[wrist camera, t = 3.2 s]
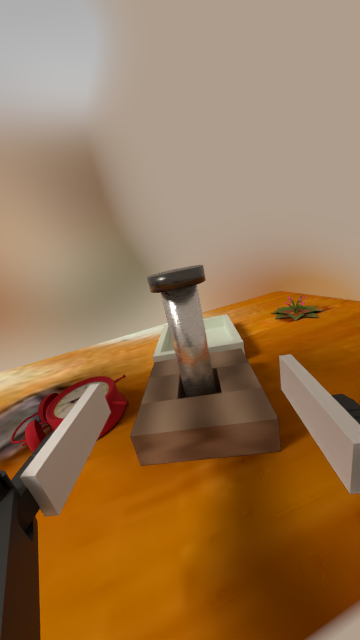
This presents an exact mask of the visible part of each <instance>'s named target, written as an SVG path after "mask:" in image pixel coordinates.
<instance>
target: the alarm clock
mask: <svg viewBox="0 0 360 640" xmlns="http://www.w3.org/2000/svg"><path fill="white" fill-rule="evenodd" d="M123 377H124V378H125V377H126V376H125V375H123ZM123 377H121V378H119V379H117V380H115V381H113V380H112V379H111V378H109V377H105V376H99V377H93V378H89V379H86V380H83V381H81V382H78V383H76V384H74V385H73V386H71V387H69V388H67V389H66V390H64V391H63V392H62V393H60V394H57V393H53V394H50V395H48V396H46V397H45V398H44V399H43V400H42V401H41V403H40V405H39V409H38V413H36V414H34V415H32V416H30V417H28V418H27V419H25V420H24V421H23V422H22V423H21V424H20V425H19V426H18V427H17V429H16V430H15V432H14V433H13V435H12V437H11V442H12V443H14V444H15V443H21V442H25V441H27V442H25V443H23V444H22V446H25V445H27V444H28V447H29V448H30V450H31V451H32V452H34V451H35V449H37V447H38V446H39V444H40V443H41V442H42V441H43V439H44V438H45V437H46V436H45V434H44V432H43V430H44V429H45V428H47V427H49V426H51V432H52V431H55V430H56V429H57V428H58V426H59V425H60V424H61V422H62V421H63V420H64V418H65V417H66V416H67V415H68V413H69V412H70V411H71V409H72V408H73V407H74V405H75V404H76V403H77V401H78V400H79V399H80V398H81V396H82V395H83V394H84V392H85V391H86V390H87V388H88V387H89V386H90V385H92V384H98V383H100V385H101V388H102V390H103V393H104V396H105V398H106V401H107V403H108V406H109V408H110V411H111V413H110V415H109V417H108V419H107V421H106V423H105V425H104V427H103V429H102V431H101V433H100V435H99V437H98V438H100V437H101V436H103V435H104V434H106V433H107V432H108V431H109V430H110V429H111V428H113V427H114V426H115V425H116V423H117V422H118V421H119V420H120V418H121V417H122V415H123V413H124V411H125V408H126V405H128V401H126V400H125V397H124V395H123V394H122V393H120V392H119V391H118V390H117V388H116V385H115V383H116V382H117V381H119V380H120V379H122V378H123ZM37 414H38V415H39V418H40V419H41V421H42V422H41V423H40V424H39V422H38V421H37V420H34V421H32V422H30V423H29V424H28V425H27V427H26V430H25V437H26V439H24V440H20V441H14V436H15V434H16V432H17V431H18V429H19V428H20V427H21V425H22V424H24V423H25V422H26V421H27V420H28V419H30V418H32V417H34V416H35V415H37ZM44 423H45V424H48V425H46V426H45V427H43V428H42V427H41V426H42V424H44ZM51 432H50V433H51Z"/></svg>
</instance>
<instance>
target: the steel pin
mask: <svg viewBox="0 0 360 640" xmlns="http://www.w3.org/2000/svg"><path fill="white" fill-rule="evenodd" d="M147 279H148V283H149V287H150V291H151V292H153V293H159V292H161V296H162V301H163V304H164V309H165V313H166V317H167V321H168V325H169V330H170V334H171V338H172V342H173V346H174V350H175V354H176V358H177V363H178V367H179V371H180V375H181V379H182V383H183V387H184V392H185V396H186V398H189V397H196V396H203V395H210V394H217V392H216V387H215V381H214V376H213V370H212V365H211V359H210V354H209V349H208V343H207V338H206V332H205V327H204V321H203V316H202V311H201V306H200V300H199V294H198V289H197V284H199V283H202V282H204V281H205V274H204V268H203V265H195V266H189V267H184V268H179V269H174V270H170V271H165V272H162V273H158V274H154V275H151V276H149V277H147Z"/></svg>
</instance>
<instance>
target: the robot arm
mask: <svg viewBox="0 0 360 640" xmlns="http://www.w3.org/2000/svg"><path fill="white" fill-rule="evenodd" d="M279 363H280V378H281V390H282V391H283V393H284V394H285V396H286V397H287V399H288V400H289V402H290V403H291V405H292V407H293V408H294V410H295V411H296V413H297V414H298V416H299V417H300V419H301V420H302V422H303V423H304V425H305V426H306V428H307V429H308V431H309V432H310V434H311V435H312V437H313V439H314V440H315V442H316V443H317V445H318V446H319V448H320V449H321V451H322V452H323V454H324V455H325V457H326V458H327V460H328V461H329V463H330V464H331V466H332V467H333V469H334V471H335V472H336V474H337V475H338V477H339V478H340V480H341V481H342V483H343V484H344V486H345V487H346V489H347V490H348V492H349V493H350V494H357V493H360V405H359V404H357V403H356V402H355V401H354V400H353V399H351V398H349V397H347V396H345V395H343V394H337V395H330V394H329V393H328V392H327V391H326V390H325V389H324V388H323V387H322V386H321V385H320V383H319V382H318V381H317V380H316V379H315V378H314V377H313V376H312V375H311V374H310V373H309V372H308V371H307V370H306V369H305V368H304V367H303V366H302V365H301V364H300V363H299V362H298V361H297V360H296V359H295V358H294V357H293V356H292V355H291V354H288V355H281V356H279ZM110 413H111V411H110V408H109V406H108V403H107V401H106V398H105V396H104V393H103V390H102V388H101V385H100V383H98V384H92V385H90V386H89V387H88V388H87V390H86V391H85V392H84V394H83V395H82V396H81V398H80V399H79V400H78V401H77V403H76V404H75V405H74V407H73V408H72V409H71V411H70V412H69V413H68V415H67V416H66V417H65V418H64V420H63V421H62V422H61V424H60V425H59V426H58V428H57V429H56V430H55V431H52V432H51V433H50V434H49V435H48V436H47V437H45V438H44V439H43V441H42V442H41V443H40V444H39V446H38V447H37V449H35V451H34V452H33V453H32V456H30V457H29V458H28V460H27V461H26V462H25V463H24V465H23V466H22V467H21V468H20V470H19V471H18V472H17V473H16V475H15V476H14V477H13V479H12V480H10V478H9V477H8V475H7V474H6V472H5V471H2V470H1V471H0V640H40V605H39V565H38V526H37V519H36V517H35V516H36V514H37V512H38V510H39V509H41V511H42V512H43V514H44V516H54V515H59V514H60V512H61V510H62V508H63V506H64V504H65V502H66V500H67V498H68V496H69V494H70V492H71V490H72V488H73V486H74V485H75V483H76V481H77V479H78V477H79V475H80V473H81V471H82V469H83V467H84V465H85V463H86V461H87V459H88V457H89V455H90V453H91V451H92V449H93V447H94V445H95V443H96V441H97V439H98V437H99V435H100V433H101V431H102V429H103V427H104V425H105V423H106V421H107V419H108V417H109V415H110Z"/></svg>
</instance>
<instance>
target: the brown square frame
mask: <svg viewBox="0 0 360 640" xmlns="http://www.w3.org/2000/svg"><path fill="white" fill-rule="evenodd" d="M209 354H210V359H211V365H212V370H213V376H214V381H215V387H216V392H221V393H218V394H210V395H203V396H196V397H189V398H185V397H186V396H185V392H184V387H183V383H182V379H181V375H180V371H179V367H178V363H177V359H171V360H165V361H159V362H155V363H154V366H153V369H152V372H151V375H150V378H149V381H148V384H147V387H146V390H145V393H144V396H143V399H142V402H141V405H140V408H139V411H138V414H137V417H136V420H135V423H134V426H133V429H132V432H131V435H130V437H131V440H132V443H133V446H134V448H135V451H136V454H137V456H138V459H139V462H140V464H141V466H142V465H152V464H162V463H172V462H181V461H191V460H201V459H211V458H221V457H231V456H241V455H251V454H260V453H270V452H280V451H281V446H280V432H279V419H278V417H277V415H276V413H275V411H274V409H273V407H272V405H271V403H270V402H269V400H268V398H267V396H266V394H265V392H264V390H263V388H262V386H261V385H260V383H259V381H258V379H257V377H256V375H255V373H254V371H253V369H252V367H251V366H250V364H249V362H248V360H247V358H246V356H245V354H244V352H243V350H242V348H239V349H233V350H227V351H221V352H214V353H209Z"/></svg>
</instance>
